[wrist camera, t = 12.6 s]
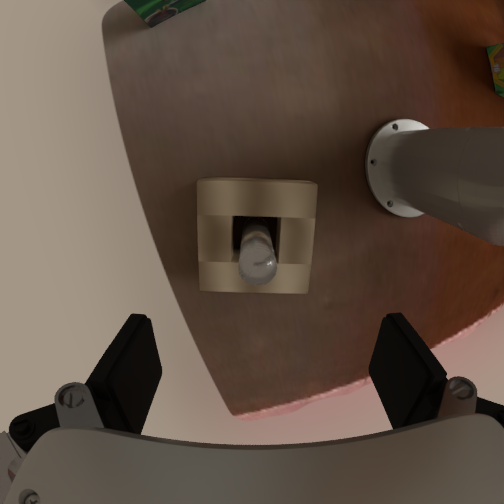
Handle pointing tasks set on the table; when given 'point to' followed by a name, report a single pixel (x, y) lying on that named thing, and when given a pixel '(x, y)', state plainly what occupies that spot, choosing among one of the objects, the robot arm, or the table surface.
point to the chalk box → (497, 66)
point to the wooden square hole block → (255, 204)
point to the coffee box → (160, 9)
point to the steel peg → (256, 253)
